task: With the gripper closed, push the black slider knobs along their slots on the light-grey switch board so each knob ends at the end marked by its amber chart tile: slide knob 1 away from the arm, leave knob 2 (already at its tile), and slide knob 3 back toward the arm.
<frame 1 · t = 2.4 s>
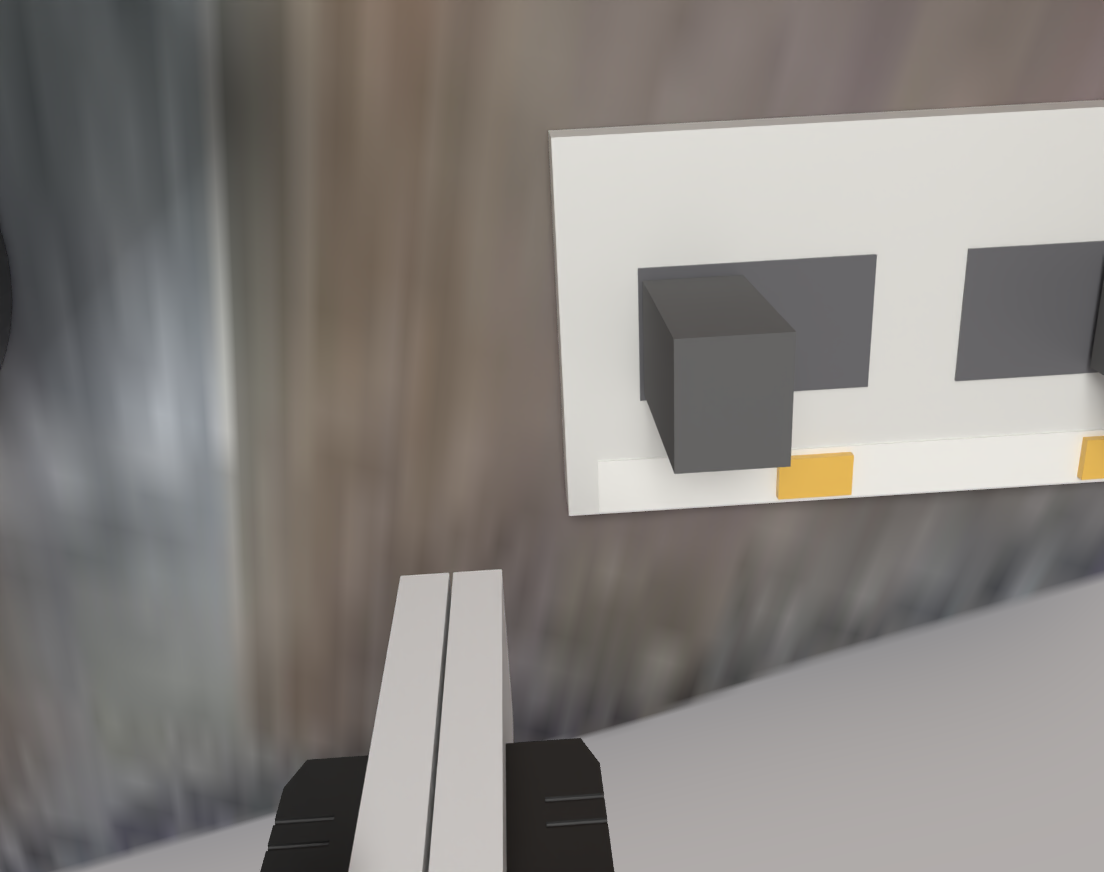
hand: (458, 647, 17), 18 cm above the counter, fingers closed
switch board: (1044, 293, 34), on the counter
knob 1: (711, 367, 29), point 5 cm above the counter, slide at 0.0 cm
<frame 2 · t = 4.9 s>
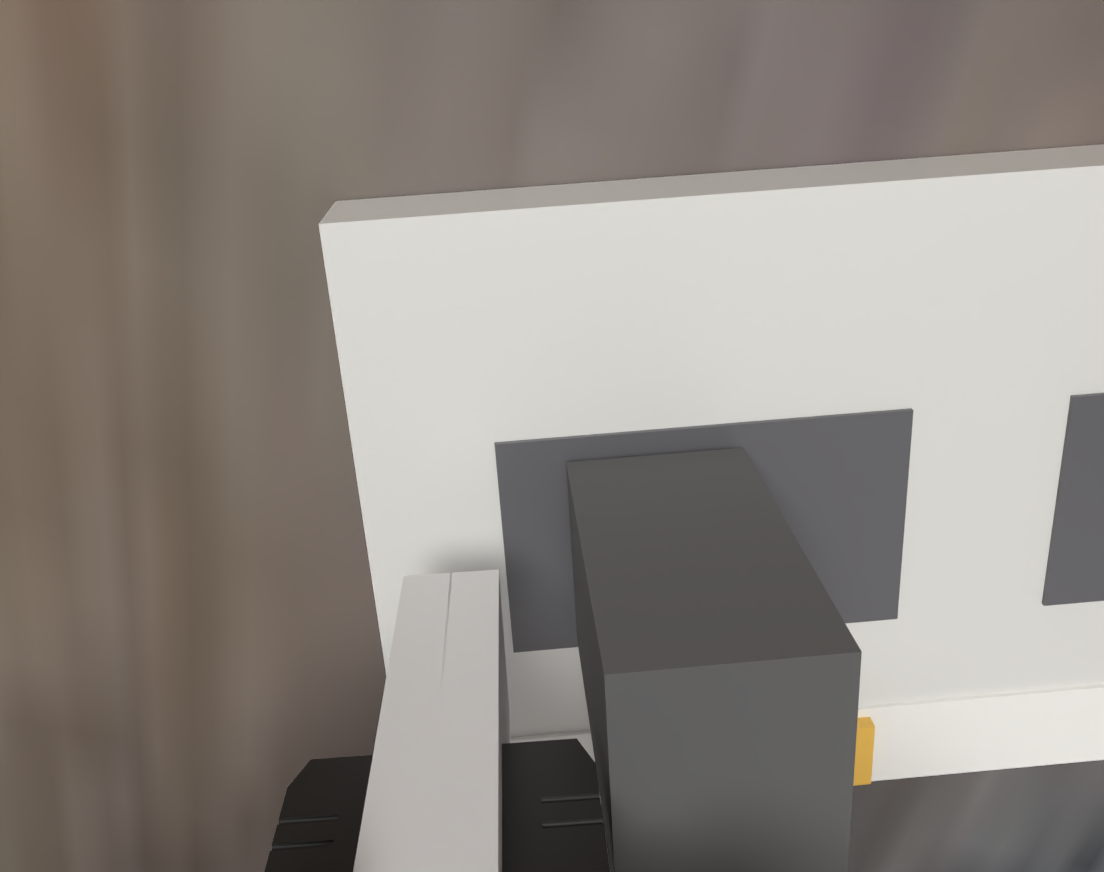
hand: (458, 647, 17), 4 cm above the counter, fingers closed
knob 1: (688, 646, 15), point 5 cm above the counter, slide at 1.1 cm, touching gripper
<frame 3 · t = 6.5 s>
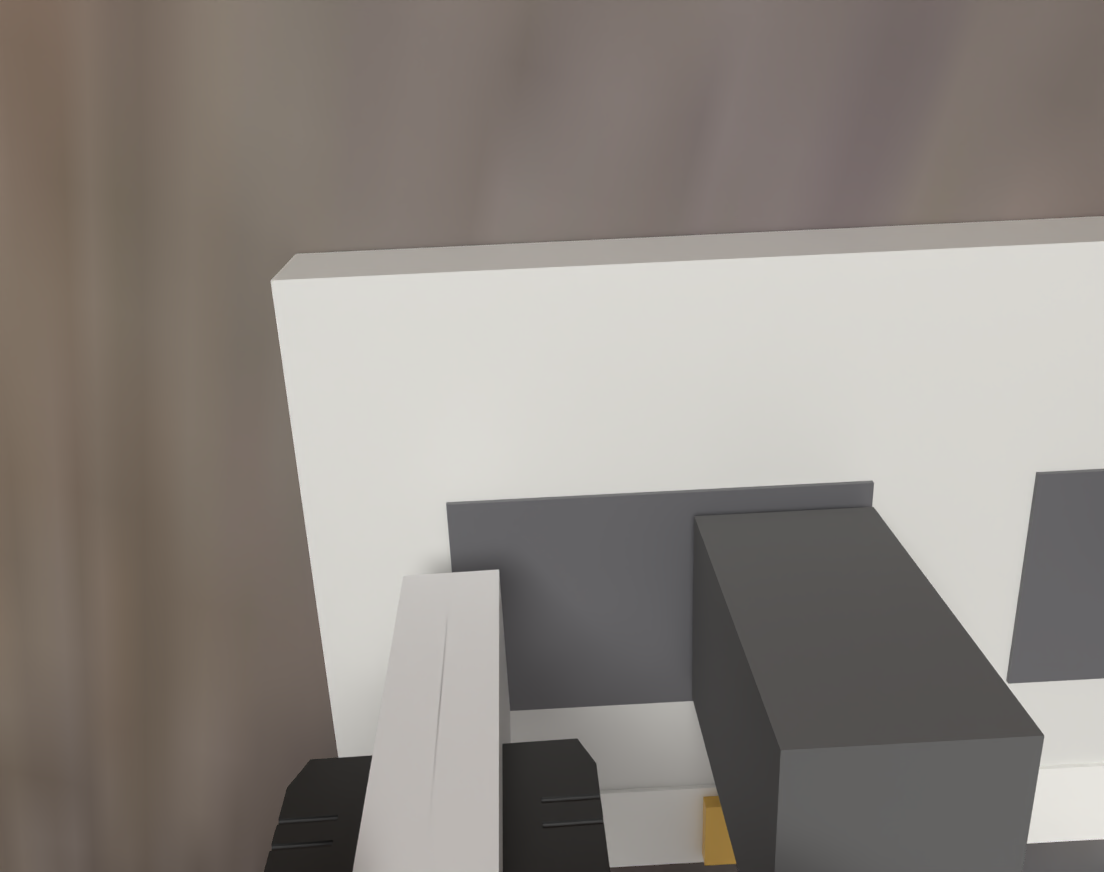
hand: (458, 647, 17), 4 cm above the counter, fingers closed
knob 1: (828, 712, 15), point 5 cm above the counter, slide at 4.0 cm
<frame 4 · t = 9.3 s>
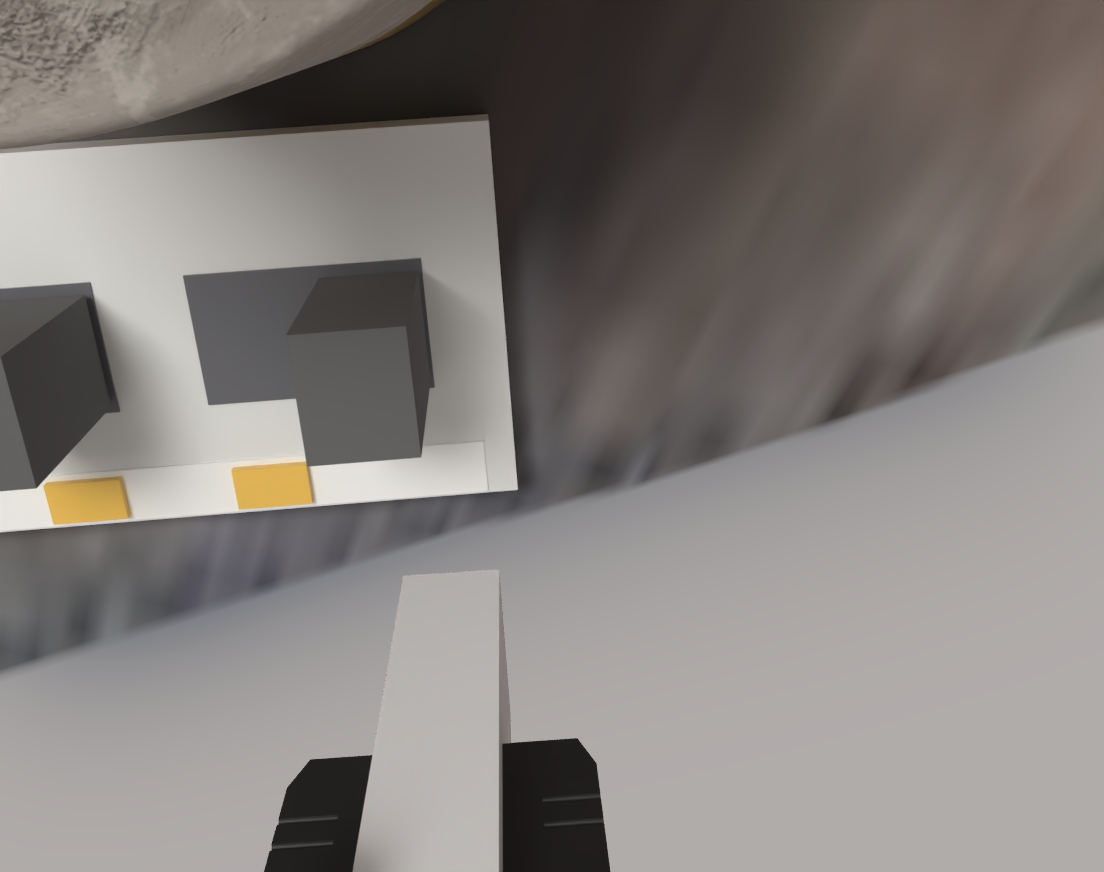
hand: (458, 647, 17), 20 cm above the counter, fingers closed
switch board: (14, 338, 34), on the counter
knob 3: (366, 361, 30), point 5 cm above the counter, slide at 4.0 cm
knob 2: (7, 389, 29), point 5 cm above the counter, slide at 4.0 cm
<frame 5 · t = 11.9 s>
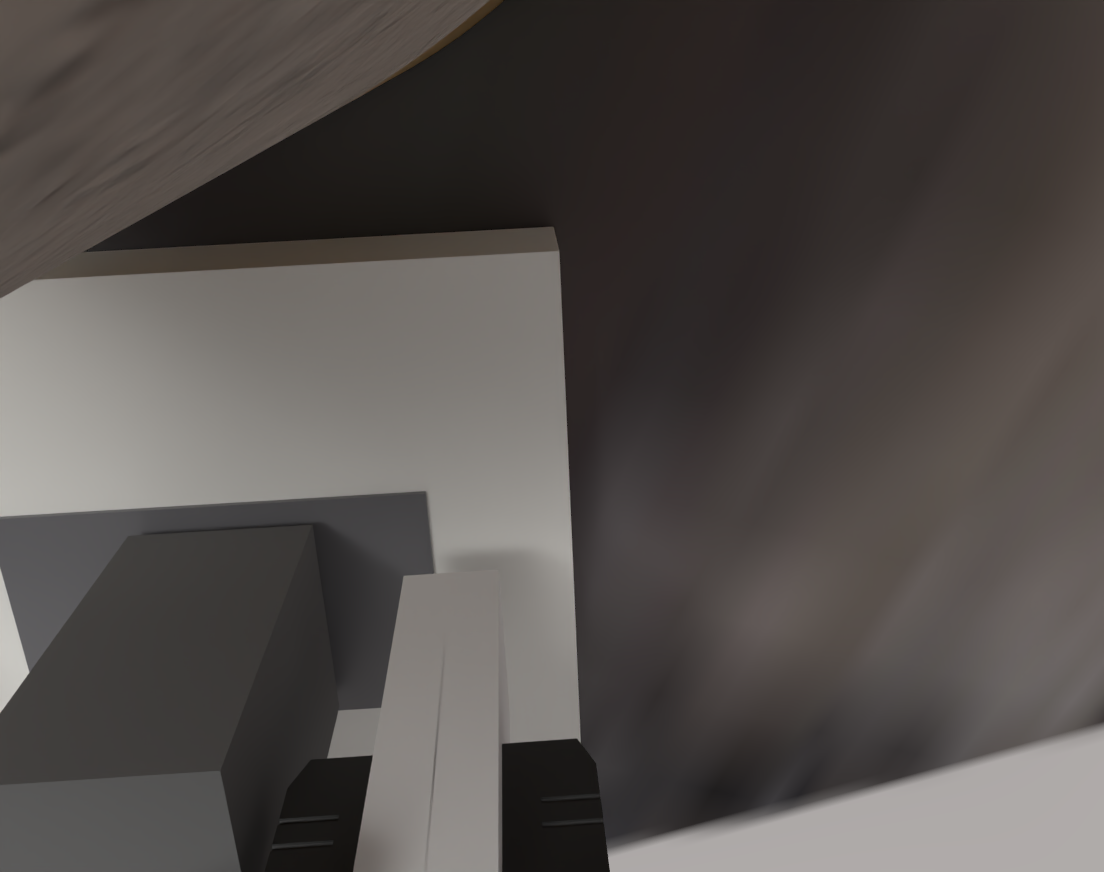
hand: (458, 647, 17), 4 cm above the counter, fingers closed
knob 3: (188, 738, 15), point 5 cm above the counter, slide at 2.2 cm, touching gripper
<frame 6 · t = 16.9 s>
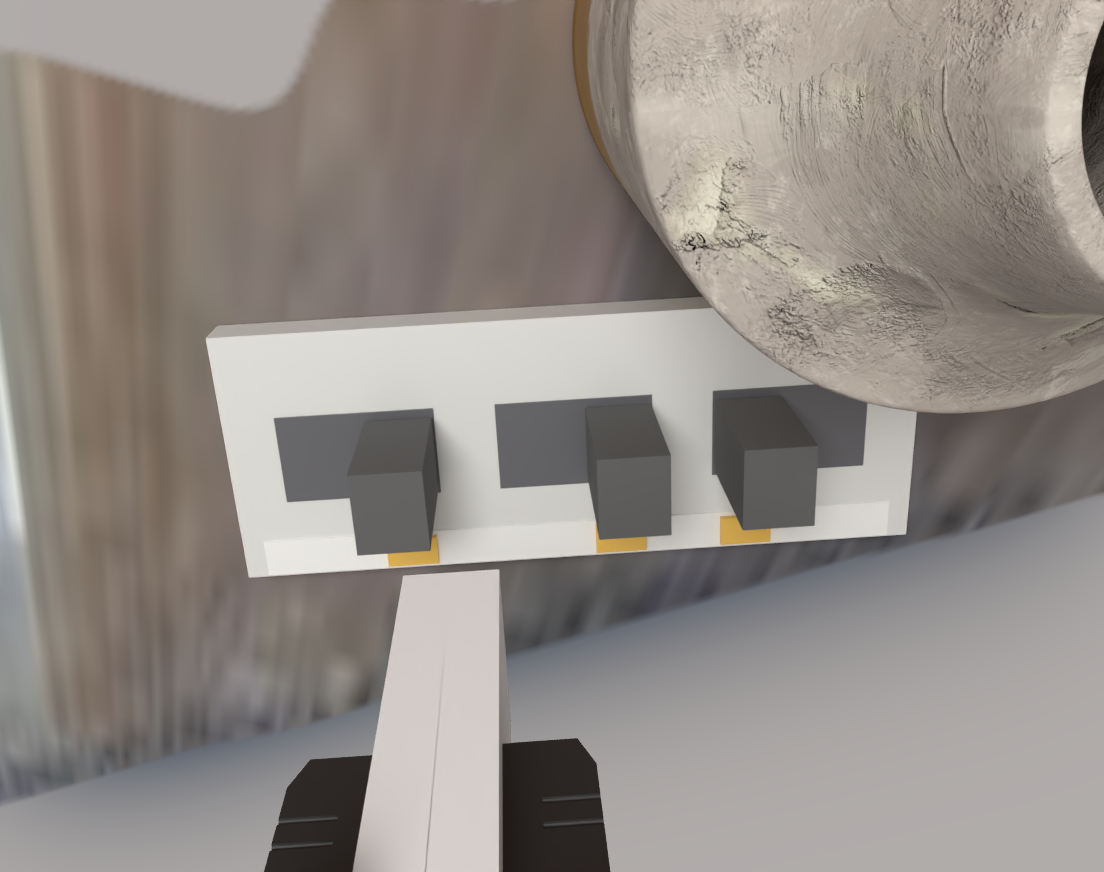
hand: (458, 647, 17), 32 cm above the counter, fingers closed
vase: (787, 38, 44), on the counter
switch board: (572, 425, 50), on the counter
knob 3: (762, 459, 45), point 5 cm above the counter, slide at 0.0 cm
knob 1: (396, 483, 45), point 5 cm above the counter, slide at 4.0 cm
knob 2: (626, 468, 45), point 5 cm above the counter, slide at 4.0 cm
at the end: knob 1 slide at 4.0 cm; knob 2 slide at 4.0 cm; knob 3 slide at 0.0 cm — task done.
